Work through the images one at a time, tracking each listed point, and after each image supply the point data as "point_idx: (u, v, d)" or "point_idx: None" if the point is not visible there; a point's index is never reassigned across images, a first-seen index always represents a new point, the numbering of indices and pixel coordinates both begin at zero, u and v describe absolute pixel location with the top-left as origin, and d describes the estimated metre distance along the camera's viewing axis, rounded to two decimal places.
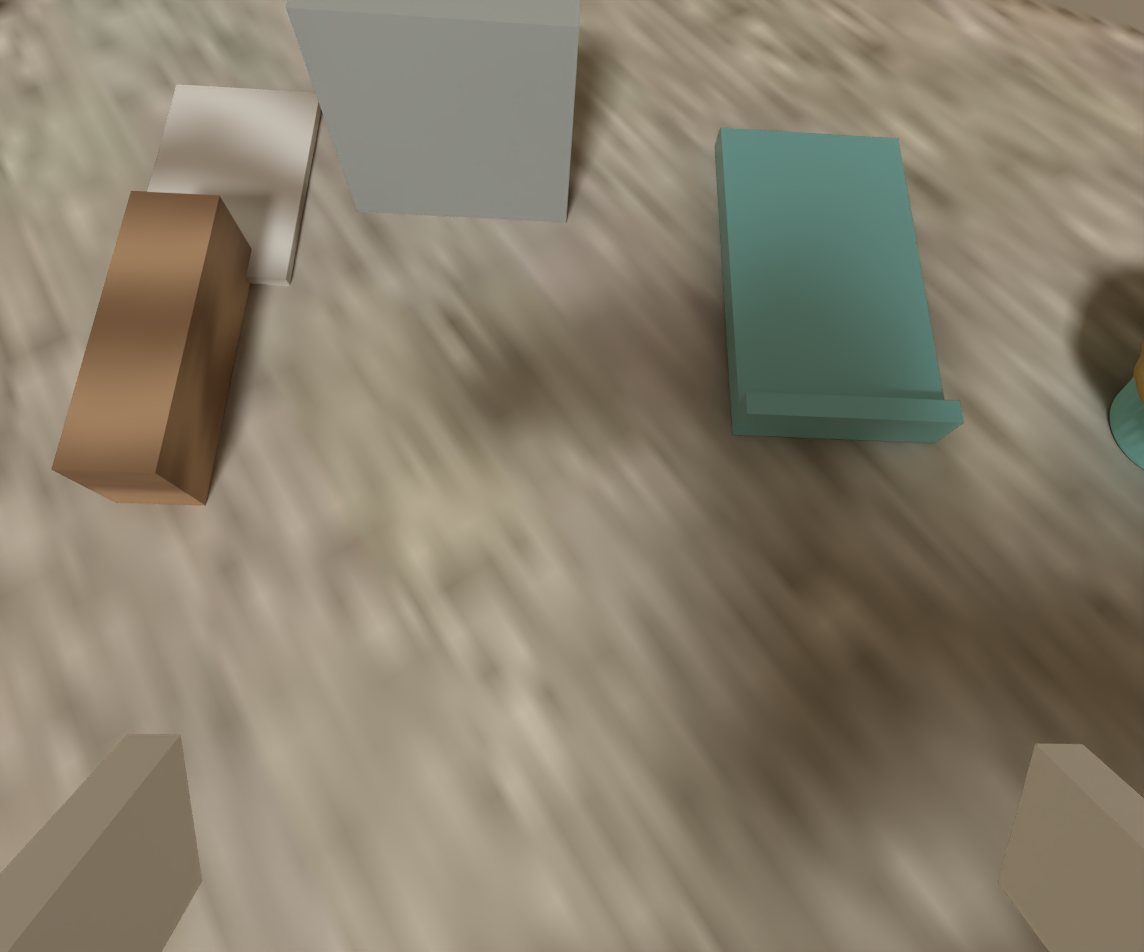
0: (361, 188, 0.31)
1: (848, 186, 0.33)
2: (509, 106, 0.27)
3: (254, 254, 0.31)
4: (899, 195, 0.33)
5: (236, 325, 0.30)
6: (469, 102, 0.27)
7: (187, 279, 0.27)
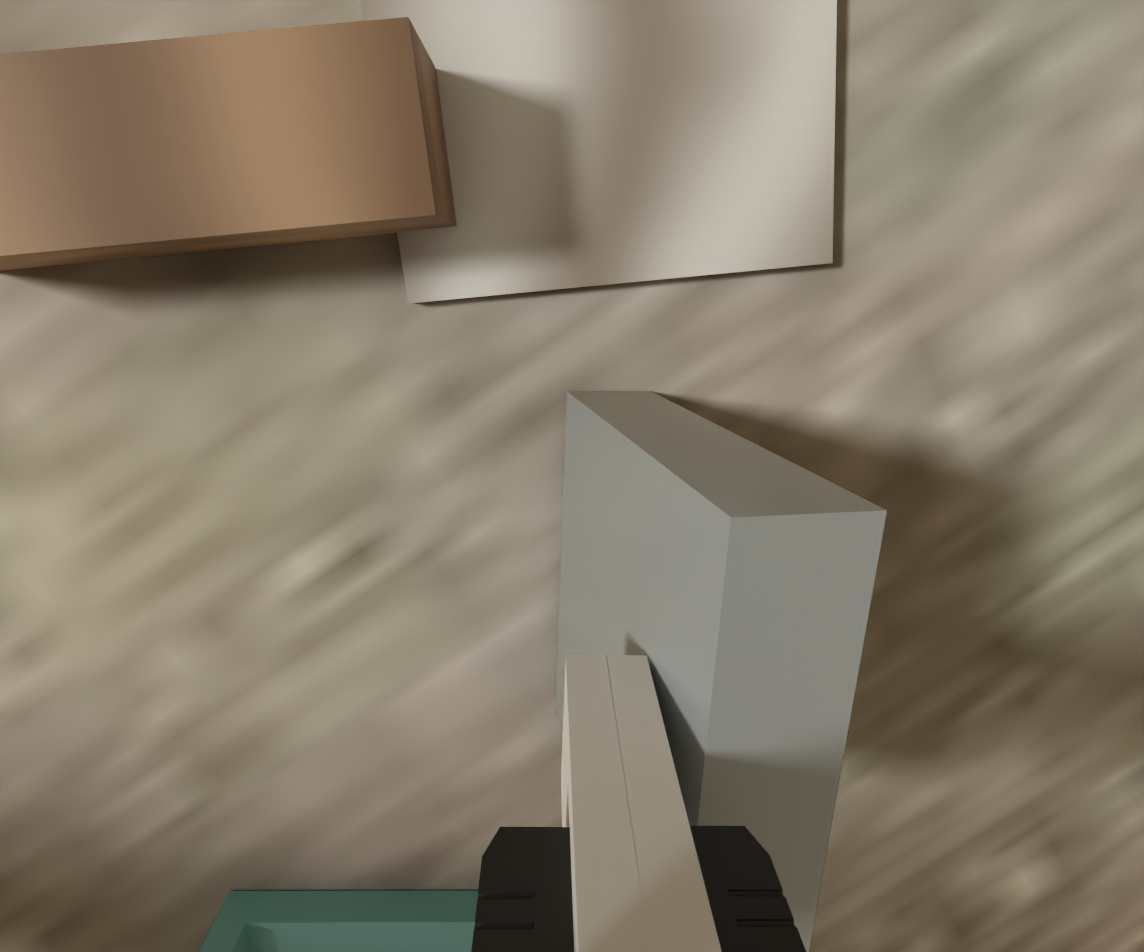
0: (580, 424, 0.17)
1: None
2: None
3: (446, 234, 0.17)
4: None
5: (298, 241, 0.17)
6: None
7: (229, 210, 0.14)
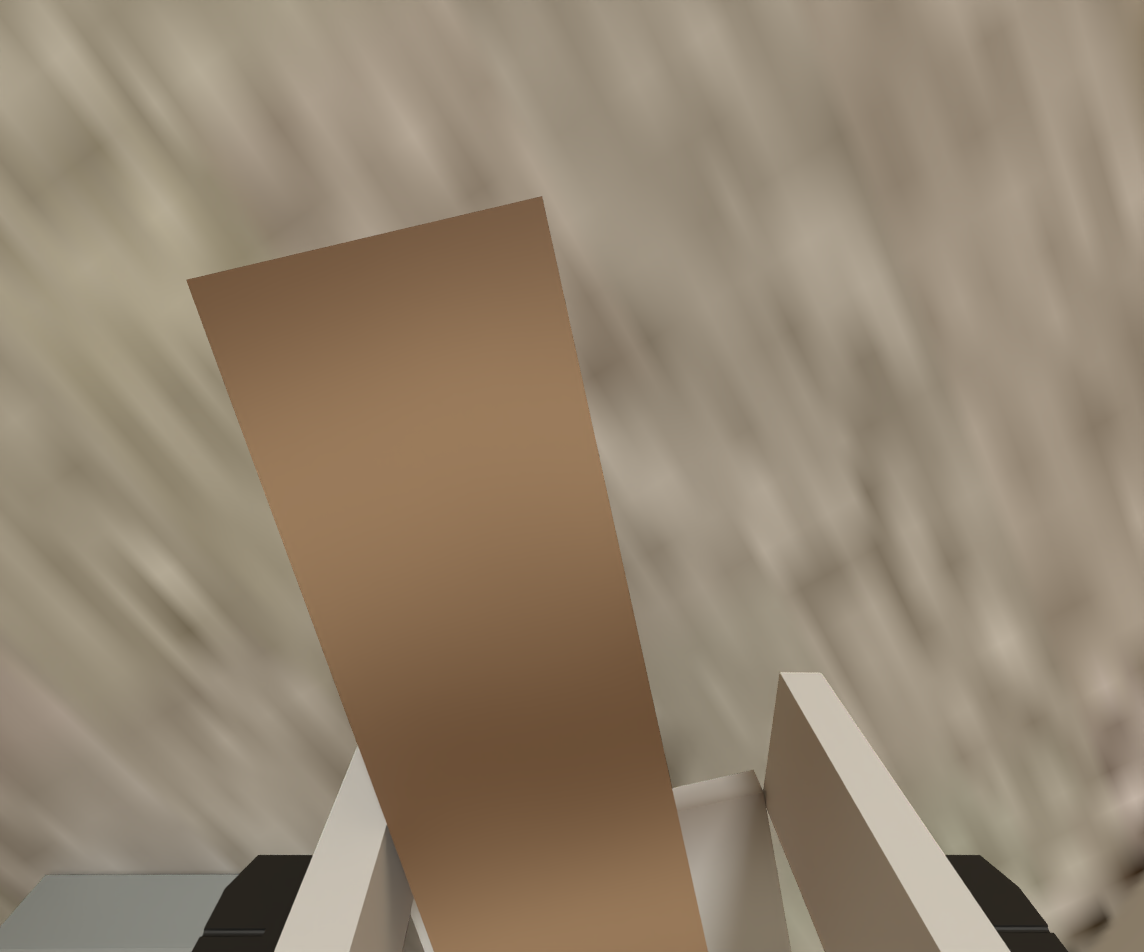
0: None
1: None
2: None
3: None
4: None
5: None
6: None
7: (453, 901, 0.09)
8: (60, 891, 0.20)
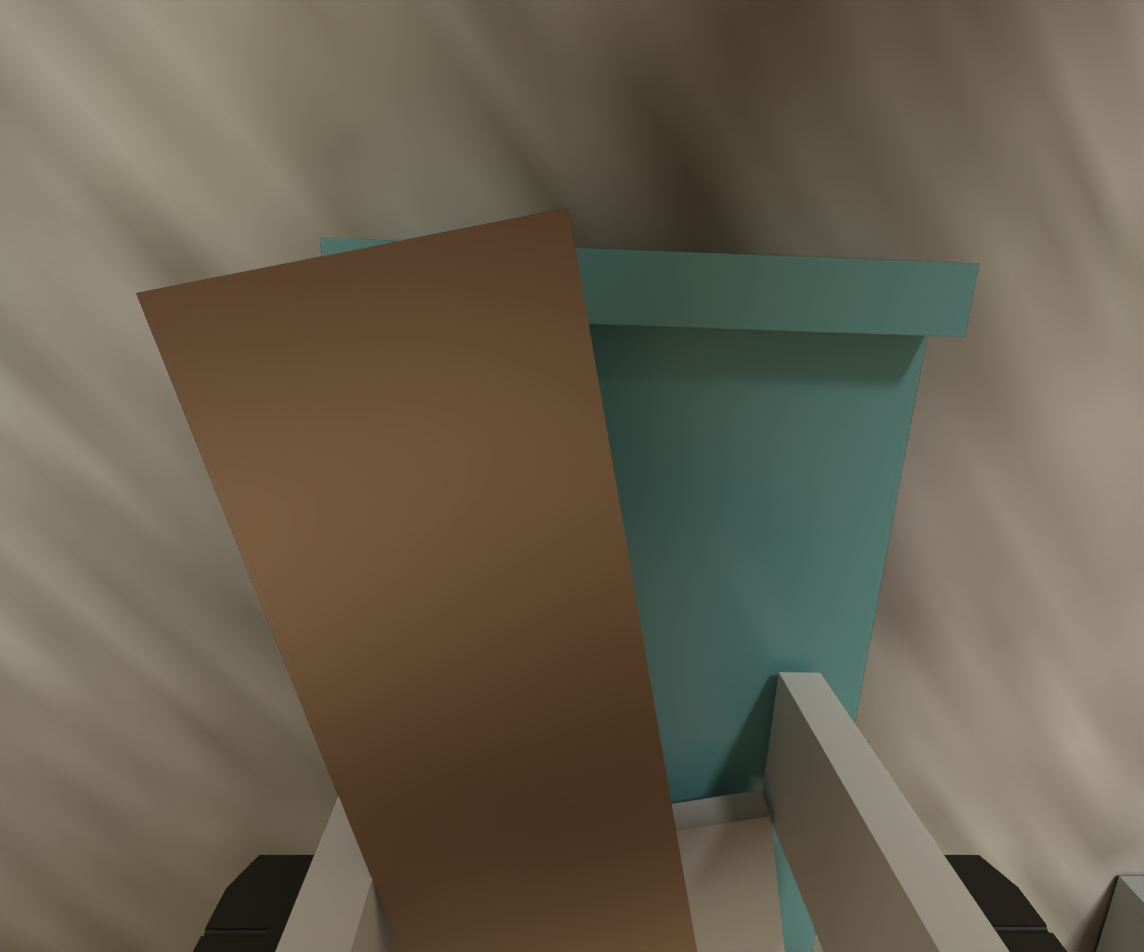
0: None
1: None
2: None
3: None
4: None
5: None
6: None
7: None
8: None
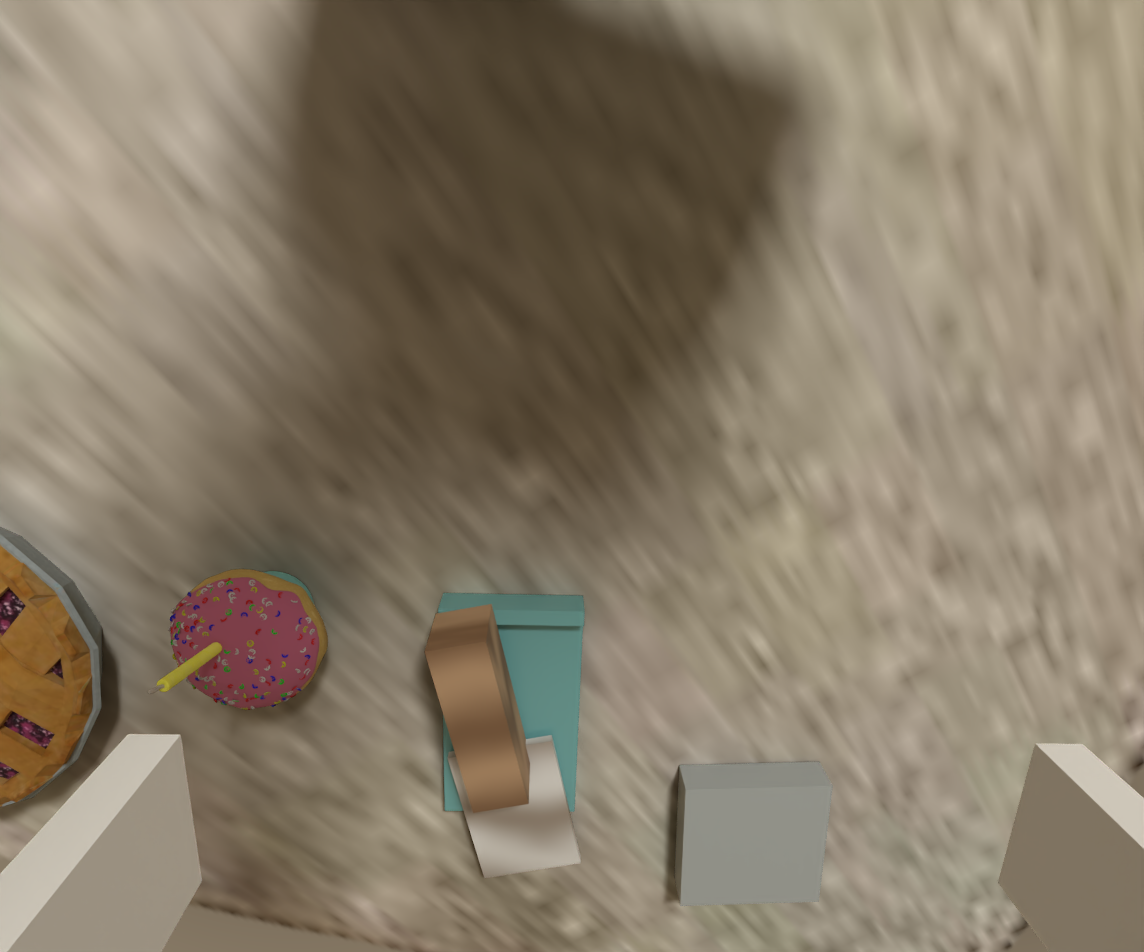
0: (822, 805, 0.47)
1: None
2: (717, 866, 0.48)
3: None
4: None
5: None
6: (739, 866, 0.48)
7: (465, 760, 0.41)
8: (693, 770, 0.48)
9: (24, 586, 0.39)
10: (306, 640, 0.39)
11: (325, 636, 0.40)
